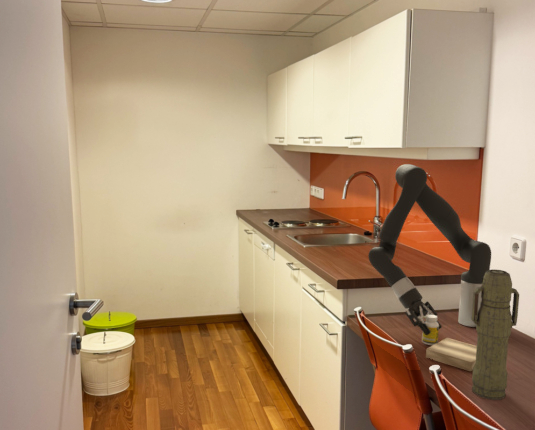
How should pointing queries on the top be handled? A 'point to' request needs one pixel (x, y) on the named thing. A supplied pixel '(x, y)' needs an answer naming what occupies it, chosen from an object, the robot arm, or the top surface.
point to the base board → (453, 353)
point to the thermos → (493, 333)
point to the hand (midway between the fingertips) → (434, 331)
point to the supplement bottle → (434, 329)
